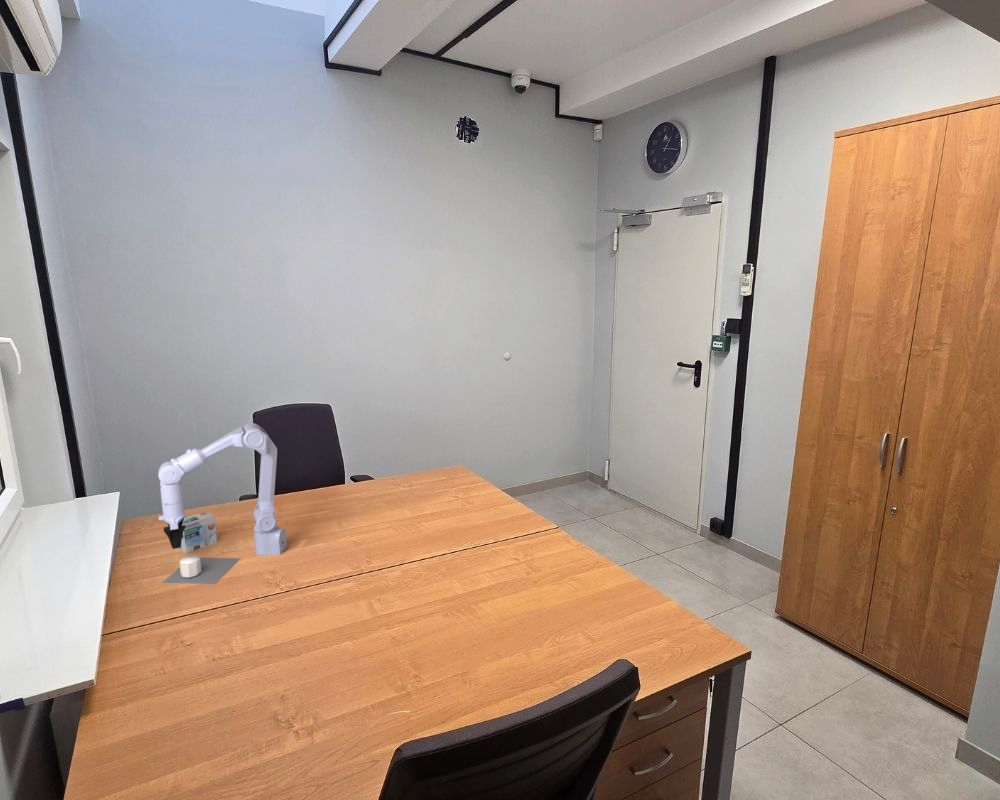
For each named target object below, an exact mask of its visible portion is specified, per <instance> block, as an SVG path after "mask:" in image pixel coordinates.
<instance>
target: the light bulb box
mask: <svg viewBox="0 0 1000 800" xmlns="http://www.w3.org/2000/svg"><path fill="white" fill-rule="evenodd" d="M216 522H217V521H216V516H215V515H213V514H211V513H209V512H208V511H203V512H200V513H196V514H193V515H190V516H185V518H184V520H183V523H182V525H185V529H184V531H183V534H182V542H181V547H180V548H178V550H180V551H181V552H183V553H184V554H187V553H191V552H193V551H198V550H200V549H203V548H205V547H209V546H211V545H214V544H215V545H216V544H217V543H218V537H217V527H216Z"/></svg>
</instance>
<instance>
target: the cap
mask: <svg viewBox="0 0 1000 800" xmlns="http://www.w3.org/2000/svg"><path fill="white" fill-rule="evenodd" d="M200 558H201V557H200V556H199V555H196V554H192V555H187V556H186V555H185V556H184V557H182V558H181V559H179V568H180V573H181V576H182V577H192V576H196V575H198V574H199V573H200V572H201V562H200Z"/></svg>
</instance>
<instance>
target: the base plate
mask: <svg viewBox="0 0 1000 800" xmlns="http://www.w3.org/2000/svg"><path fill="white" fill-rule="evenodd" d="M241 559H242V558H239V557H237V558H235V557H231V558H230V557H200V562H201V572H200V573H199V575H198V576H196V577H193V578H184V577H182V576H181V573H180V567H178V568H177V569H176V570H175V571H174V572H173V573H171V574H170V575H169V576H168V577H167V578H166V579H164V580H163V581H162V583H161V584H195V585H198V584H199V585H200V584H201V585H204V584H205V585H216V584H218V583H219V581H220V580H222V578H223V577H224V576H225V575H226V574H227V573H228V572H229V571H231V569H232V568H233V567H234V566H235V565H236V564H237V563H238V562H239V561H240V560H241Z"/></svg>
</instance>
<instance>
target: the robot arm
mask: <svg viewBox="0 0 1000 800" xmlns="http://www.w3.org/2000/svg"><path fill="white" fill-rule="evenodd" d="M243 444H244V445H245V446H246V447H247V448H249V449H251V450H255V451H256V452H257V453H259V454H260V464H259V465H260V468H259V483H258V497H257V498H258V499H257V501H256V506H255V508H254V510H253V514H252V516H253V520H254V522H255V525H254V527H253V537H254V538H253V540H254V550H255V551H254V552H255V555H258V556H280V555H282V554H283V552H284V551H285V550H286V548H287V546H288V544H287V532H286V529H285V528H284V527H279V526H278V518H277V517H276V509H275V493H276V492H275V491H276V474H277V461H278V447H276V446H277V445H275V443H274V442H273V441H272V439H271V438H270V436H269V434H268V433H267V431H265V429H264V428H263V427H262V426H260V425H258V424H257V423H254V422H253V423H252V422H249V423H246V424H245V425H243V426H240V427H237V428H236V429H234V430H232V431H231V432H229V433H227V434H225V435H224V436H222V437H221V438H218V439H217V440H215V441H214V442H212V443H210V444H209V445H207V446H205V447H203V448H195V447H194V448H193V449H191V448H189V449H187V450H186V452H185V453H184V454H182V455H180V456H178V457H176V458H174V457H173V458H171V459H170V461H165V462H163V463H162V464H161V465H160V466H159V469H158V472H157V473H158V474H157V475H158V479H159V486H160V488H159V489H160V498H161V499H160V501H161V507H162V515H158V521H163V522H165V523H166V524H167V526H164V527H163V532H164V534H165V535H166V536H167V539H168V540H169V543H170V546H171V548H172V549H173V550H174V549H179V548H180V547H181V542H182V534H183V531H184V529H185V525H182V523H183V520H184V518H186V517H187V516H186V515H187V514H186V512H185V502H184V493H183V492H184V491H183V484H181V483H182V482H181V478H182V477H183V476H187V475H188V474H190V473H192V472H194V471H195V470H197V469H199V468H200V467H202V466H204V465H206V463H207V460H208V459H209V458H211V457H213V456H216V455H217V454H219V453H221V452H223V451H225V450H227V449H229V448H231V447H237V448H244V445H243Z"/></svg>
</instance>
